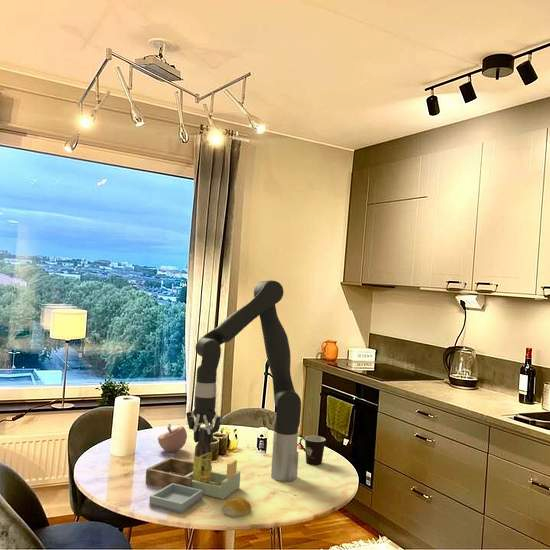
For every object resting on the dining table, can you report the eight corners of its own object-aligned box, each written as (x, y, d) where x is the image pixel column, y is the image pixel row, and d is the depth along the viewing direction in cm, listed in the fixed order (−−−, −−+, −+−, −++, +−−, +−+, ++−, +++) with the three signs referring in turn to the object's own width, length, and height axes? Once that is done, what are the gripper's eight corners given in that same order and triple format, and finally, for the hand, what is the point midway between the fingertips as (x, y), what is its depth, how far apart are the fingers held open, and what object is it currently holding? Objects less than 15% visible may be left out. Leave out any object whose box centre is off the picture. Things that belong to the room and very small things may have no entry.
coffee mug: (327, 465, 214) (329, 441, 214) (308, 467, 211) (310, 442, 211) (315, 456, 225) (316, 433, 225) (297, 457, 222) (298, 434, 222)
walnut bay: (211, 479, 191) (211, 466, 192) (189, 493, 178) (190, 479, 178) (169, 470, 198) (170, 457, 198) (145, 483, 184) (146, 469, 185)
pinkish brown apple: (161, 445, 227) (162, 419, 227) (188, 447, 227) (190, 421, 227) (153, 454, 215) (155, 426, 215) (182, 456, 215) (184, 428, 215)
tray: (202, 499, 174) (202, 490, 174) (181, 513, 162) (181, 504, 162) (171, 491, 178) (172, 483, 178) (149, 505, 167) (149, 496, 167)
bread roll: (255, 511, 168) (256, 498, 168) (237, 520, 160) (238, 507, 160) (235, 503, 172) (236, 491, 173) (217, 512, 165) (218, 499, 165)
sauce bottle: (201, 489, 180) (204, 431, 181) (188, 485, 184) (191, 428, 184) (214, 484, 186) (217, 428, 186) (201, 479, 189) (203, 424, 190)
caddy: (239, 487, 185) (241, 457, 186) (223, 499, 174) (225, 467, 174) (197, 477, 192) (199, 449, 192) (179, 488, 181) (181, 458, 181)
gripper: (228, 395, 186) (225, 443, 186) (193, 390, 191) (191, 437, 191) (218, 399, 179) (215, 449, 179) (182, 393, 185) (179, 442, 184)
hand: (202, 442), depth 185 cm, fingers closed on sauce bottle, 4 cm apart
